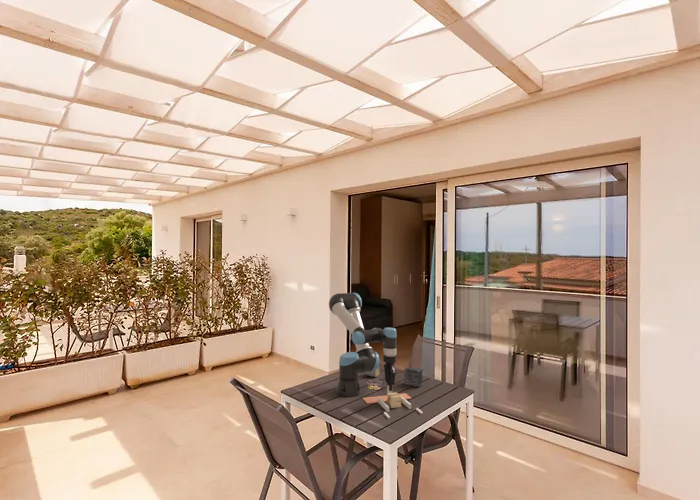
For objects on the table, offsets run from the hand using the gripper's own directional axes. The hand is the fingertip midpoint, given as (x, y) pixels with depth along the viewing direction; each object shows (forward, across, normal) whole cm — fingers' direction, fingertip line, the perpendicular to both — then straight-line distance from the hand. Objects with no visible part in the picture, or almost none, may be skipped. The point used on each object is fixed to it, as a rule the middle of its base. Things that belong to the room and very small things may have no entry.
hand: (389, 395), depth 211 cm
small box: (+3, -20, +26) cm, 33 cm away
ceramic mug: (+3, -45, +7) cm, 46 cm away
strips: (+3, +18, 0) cm, 19 cm away
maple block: (+3, +6, 0) cm, 7 cm away
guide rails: (+3, +6, 0) cm, 7 cm away
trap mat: (+3, -4, 0) cm, 5 cm away
